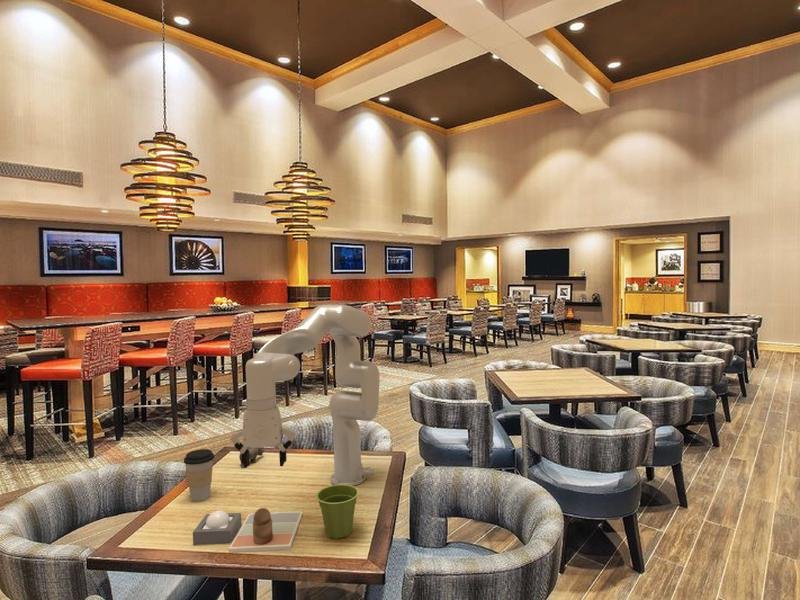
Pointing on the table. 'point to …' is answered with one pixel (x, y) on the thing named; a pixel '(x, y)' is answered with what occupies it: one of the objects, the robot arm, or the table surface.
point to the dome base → (217, 531)
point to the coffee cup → (199, 473)
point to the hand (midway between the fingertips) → (264, 465)
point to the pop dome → (217, 520)
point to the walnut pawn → (262, 527)
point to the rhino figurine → (253, 454)
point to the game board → (281, 528)
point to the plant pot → (338, 509)
